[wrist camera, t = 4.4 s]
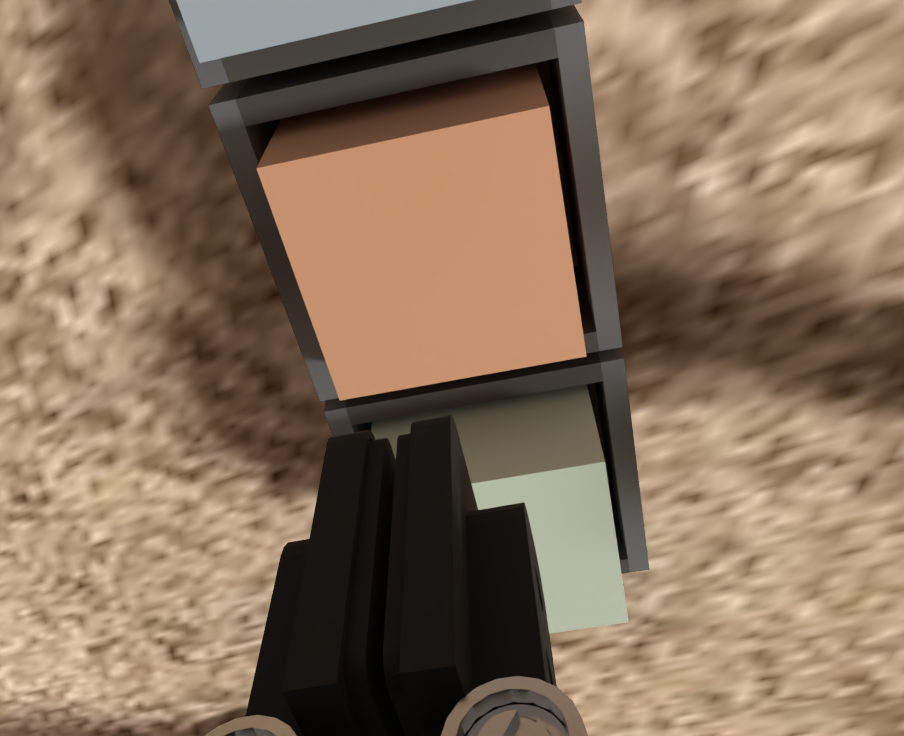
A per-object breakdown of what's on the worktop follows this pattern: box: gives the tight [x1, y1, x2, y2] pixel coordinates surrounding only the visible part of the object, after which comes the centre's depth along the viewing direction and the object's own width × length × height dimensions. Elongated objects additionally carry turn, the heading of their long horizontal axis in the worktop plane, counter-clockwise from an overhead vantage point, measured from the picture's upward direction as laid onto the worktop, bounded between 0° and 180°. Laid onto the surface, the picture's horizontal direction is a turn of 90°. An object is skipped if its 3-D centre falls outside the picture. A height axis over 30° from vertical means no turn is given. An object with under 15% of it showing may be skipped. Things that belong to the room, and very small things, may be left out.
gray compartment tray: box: [169, 0, 649, 573], centre depth 18 cm, size 24×7×4 cm, turn 12°
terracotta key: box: [256, 63, 587, 401], centre depth 17 cm, size 5×5×4 cm
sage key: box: [371, 384, 629, 633], centre depth 20 cm, size 5×5×4 cm
